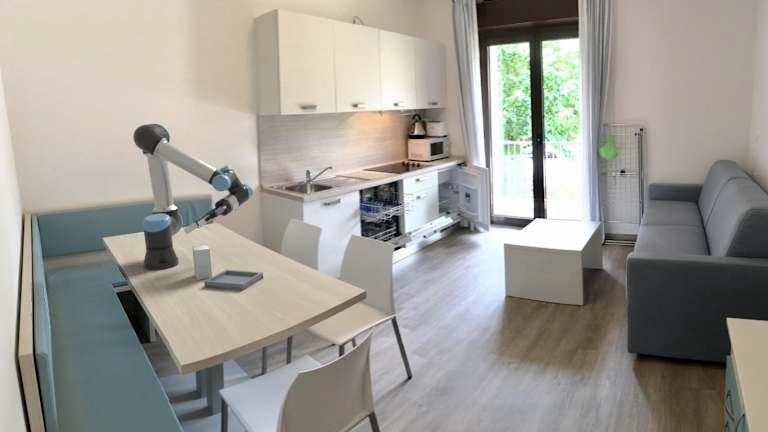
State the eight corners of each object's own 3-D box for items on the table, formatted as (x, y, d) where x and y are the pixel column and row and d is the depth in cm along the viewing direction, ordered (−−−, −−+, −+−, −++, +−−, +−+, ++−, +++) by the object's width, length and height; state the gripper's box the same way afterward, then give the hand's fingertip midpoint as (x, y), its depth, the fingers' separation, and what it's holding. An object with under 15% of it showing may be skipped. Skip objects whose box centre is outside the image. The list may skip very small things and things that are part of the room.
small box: (212, 277, 239) (209, 248, 237) (197, 280, 237) (194, 250, 234) (209, 272, 246) (207, 244, 244) (194, 275, 244) (191, 246, 241)
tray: (204, 286, 228) (204, 281, 227) (226, 275, 243) (226, 269, 242) (243, 290, 222) (242, 284, 222) (263, 278, 237) (262, 272, 237)
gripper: (244, 204, 254) (210, 228, 239) (218, 218, 271) (185, 241, 257) (235, 191, 253) (200, 214, 238) (209, 205, 270) (175, 227, 255)
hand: (192, 228), depth 247 cm, fingers open, 13 cm apart
